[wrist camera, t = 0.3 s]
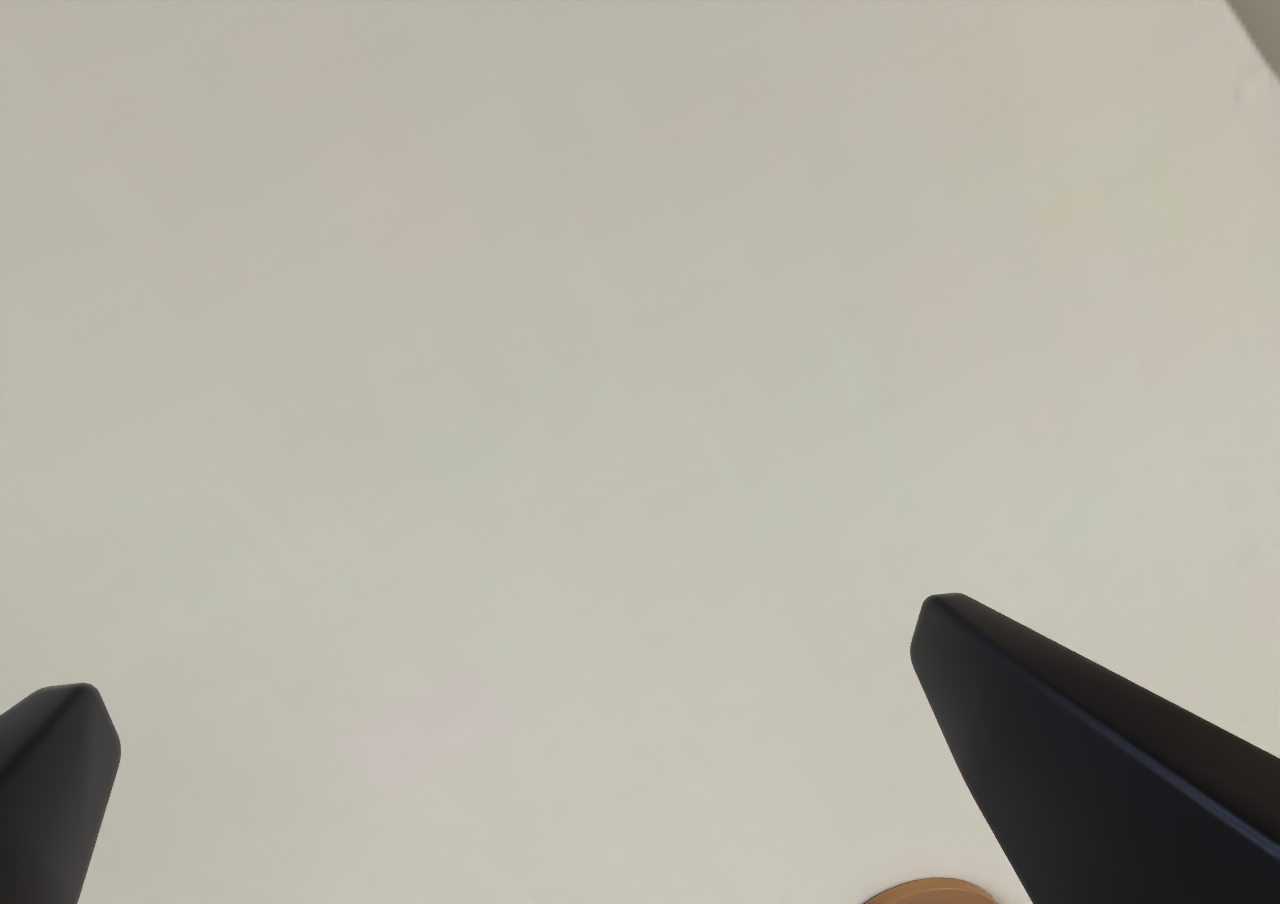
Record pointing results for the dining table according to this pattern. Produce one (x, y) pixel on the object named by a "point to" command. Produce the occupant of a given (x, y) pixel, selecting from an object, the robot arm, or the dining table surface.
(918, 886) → the cork coaster
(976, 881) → the dining table surface
